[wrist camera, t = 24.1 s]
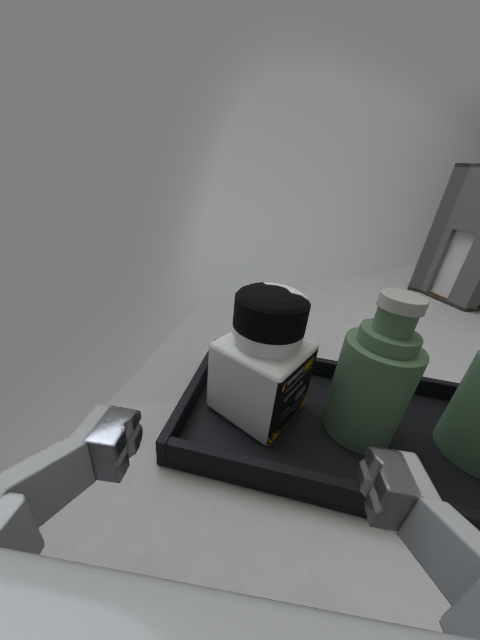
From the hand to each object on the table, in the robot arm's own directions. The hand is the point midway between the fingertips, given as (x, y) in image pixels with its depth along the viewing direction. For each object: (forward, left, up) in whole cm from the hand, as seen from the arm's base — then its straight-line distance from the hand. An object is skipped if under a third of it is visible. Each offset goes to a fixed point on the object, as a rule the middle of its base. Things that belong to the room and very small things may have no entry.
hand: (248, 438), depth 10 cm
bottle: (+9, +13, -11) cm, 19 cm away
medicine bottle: (0, +14, -11) cm, 17 cm away
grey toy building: (+40, +59, -12) cm, 72 cm away
